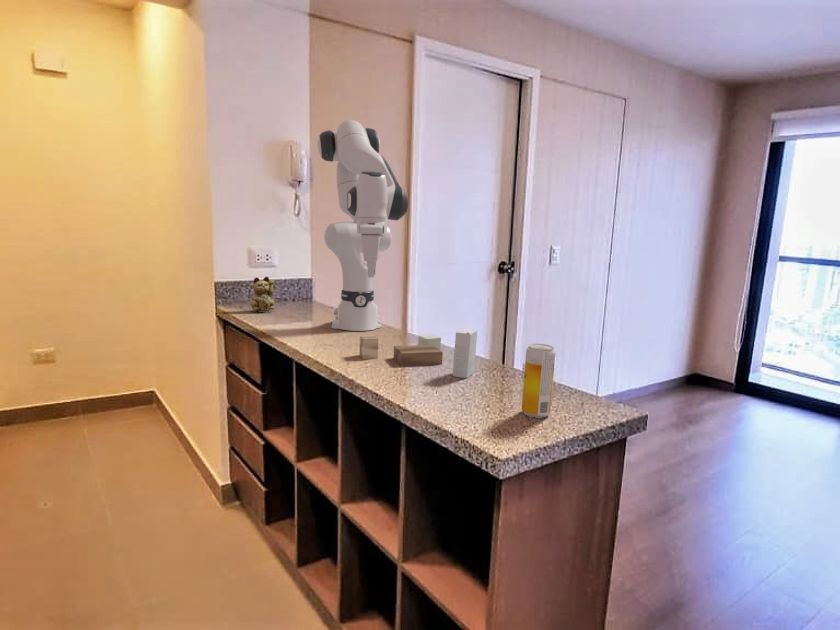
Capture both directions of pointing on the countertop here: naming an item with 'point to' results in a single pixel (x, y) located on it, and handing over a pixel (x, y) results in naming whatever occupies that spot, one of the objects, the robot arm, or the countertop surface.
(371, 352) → the oak block
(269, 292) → the decorative figurine
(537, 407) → the beer can
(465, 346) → the skincare box
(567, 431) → the countertop surface
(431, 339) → the sage cube
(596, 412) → the countertop surface
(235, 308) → the countertop surface
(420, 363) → the walnut block
